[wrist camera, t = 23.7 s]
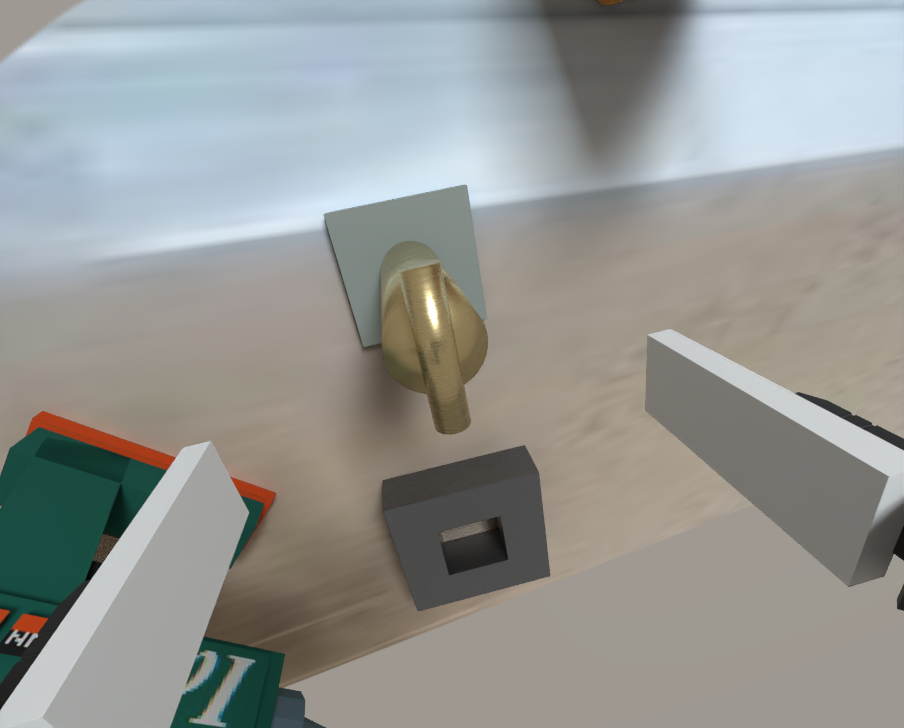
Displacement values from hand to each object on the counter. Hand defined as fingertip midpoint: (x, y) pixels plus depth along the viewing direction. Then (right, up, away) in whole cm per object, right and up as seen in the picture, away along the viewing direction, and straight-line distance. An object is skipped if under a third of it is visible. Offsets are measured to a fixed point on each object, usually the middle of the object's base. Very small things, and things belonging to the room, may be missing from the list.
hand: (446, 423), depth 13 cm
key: (-3, +9, +18) cm, 20 cm away
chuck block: (+2, -14, +30) cm, 34 cm away
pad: (-3, +9, +19) cm, 21 cm away
